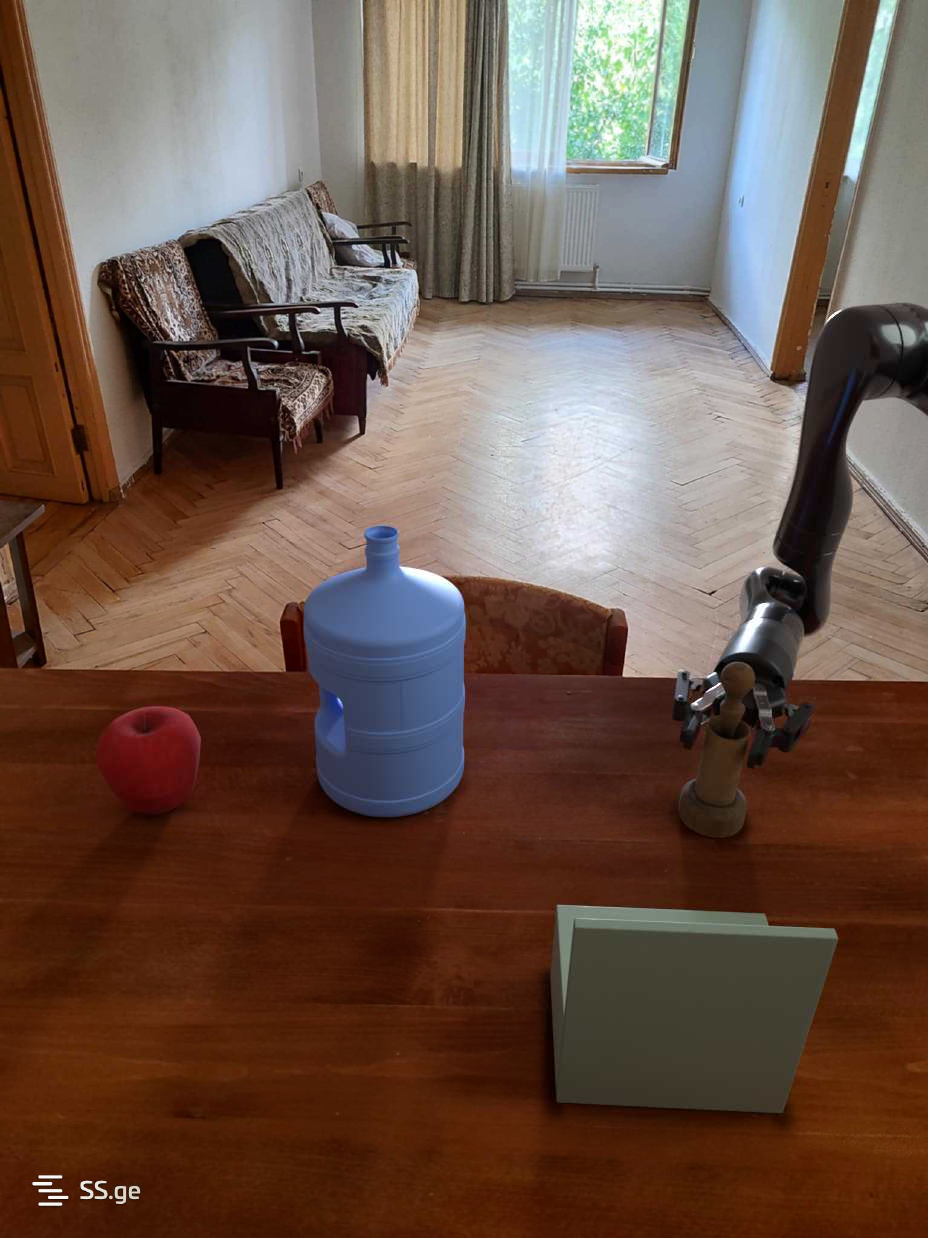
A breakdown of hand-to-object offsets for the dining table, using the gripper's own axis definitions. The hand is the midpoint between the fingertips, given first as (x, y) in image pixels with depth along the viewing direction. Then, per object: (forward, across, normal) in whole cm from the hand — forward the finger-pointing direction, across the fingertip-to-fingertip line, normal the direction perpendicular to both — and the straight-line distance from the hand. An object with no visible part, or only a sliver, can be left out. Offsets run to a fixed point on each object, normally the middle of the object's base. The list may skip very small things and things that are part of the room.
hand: (719, 751), depth 82 cm
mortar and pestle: (-3, 0, +10) cm, 11 cm away
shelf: (+24, +2, +10) cm, 26 cm away
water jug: (+7, -32, +10) cm, 34 cm away
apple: (+22, -50, +10) cm, 56 cm away
